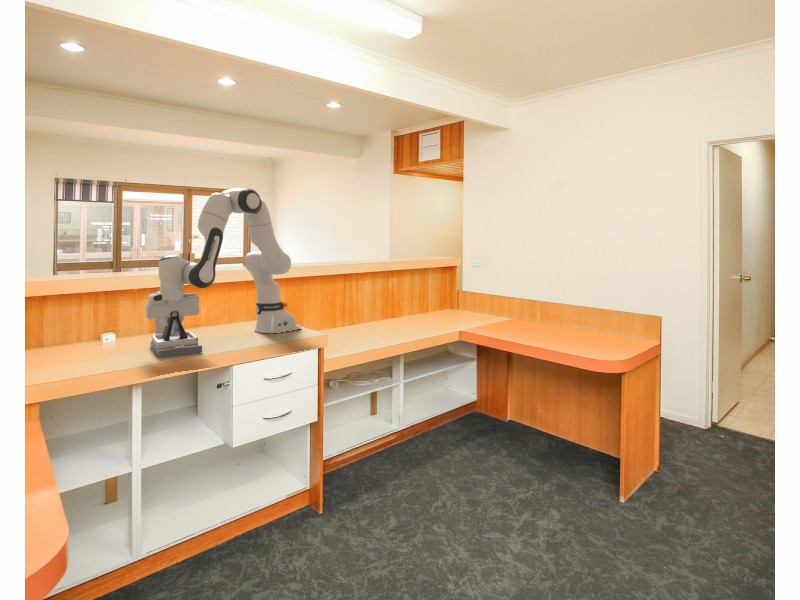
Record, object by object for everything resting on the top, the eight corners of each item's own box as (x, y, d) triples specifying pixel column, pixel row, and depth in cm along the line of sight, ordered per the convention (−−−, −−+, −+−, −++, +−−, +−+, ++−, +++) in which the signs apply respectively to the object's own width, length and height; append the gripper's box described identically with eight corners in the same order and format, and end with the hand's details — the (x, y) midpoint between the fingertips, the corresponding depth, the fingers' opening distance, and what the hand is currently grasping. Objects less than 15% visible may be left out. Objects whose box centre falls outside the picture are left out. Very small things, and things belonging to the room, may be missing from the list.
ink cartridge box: (183, 339, 222) (181, 308, 220) (175, 342, 217) (173, 310, 215) (163, 338, 224) (161, 307, 222) (155, 341, 219) (153, 309, 217)
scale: (191, 342, 217) (190, 330, 216) (202, 352, 200) (201, 339, 200) (150, 347, 207) (150, 335, 207) (159, 358, 191) (158, 344, 190)
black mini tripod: (164, 341, 200) (162, 312, 198) (161, 338, 205) (159, 310, 203) (188, 338, 205) (186, 310, 203) (184, 335, 210) (183, 308, 208)
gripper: (196, 291, 210) (198, 323, 213) (143, 295, 199) (146, 329, 201) (200, 293, 205) (202, 326, 208) (146, 297, 194) (148, 331, 196)
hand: (174, 327), depth 204 cm, fingers closed on black mini tripod, 2 cm apart
